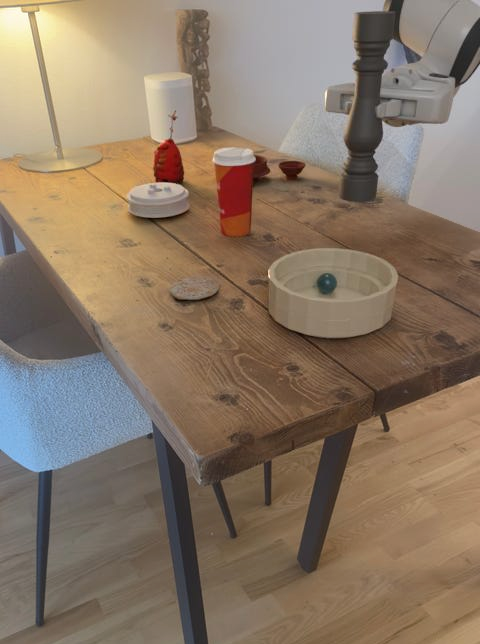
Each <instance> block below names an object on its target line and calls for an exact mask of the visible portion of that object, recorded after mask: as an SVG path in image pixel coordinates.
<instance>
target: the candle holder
mask: <svg viewBox="0 0 480 644" xmlns="http://www.w3.org/2000/svg"><path fill="white" fill-rule="evenodd" d="M395 13H396V12H393V11H383V10H373V11H358V12H354V13H353V26H352V38H351V40H352V41H353V48H354V50H355V54H356V56H357V57H356V59H355V60H354V61H353V62H352V63H351V69H352V70H353V71H354V74H355V81H354V83H355V91H354V99H353V102H352V106H351V109H350V113H349V115H347V116H348V117H347V119H346V123H345V127H344V130H343V142H344V144H345V147H346V148H347V150H348V151H346V152H347V154H348V157H347V158H346V159H345V161H344V163H343V164H342V165H341V166H342V170H343V172H342V173H341V174H340V175H339V185H338V186H339V187H338V198H339V199H340V200H342V201H346V202H349V203H350V202H351V203H366V202H371V201H373V200H375V199H376V197H377V191H378V184H379V183H378V182H379V174H378V173H377V172H376V171H377V170H378V168H379V165H378V163H377V161H376V159H375V158H374V156H375V154H376V153H377V152H376V150H377V149H378V148H379V146H380V144H381V142H382V141H383V137H384V128H383V121H382V118H377V117H376V115H375V106H376V105H377V104H380V90H381V81H382V77H383V75H384V74H385V73H384V72H385V71H386V70H387V69H388V66H389V63H388V61H387V60H386V59H385V56H386V54H387V51H388V49H389V48H390V46H391V41H393V40H394V39H393V31H394V22H395Z"/></svg>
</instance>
